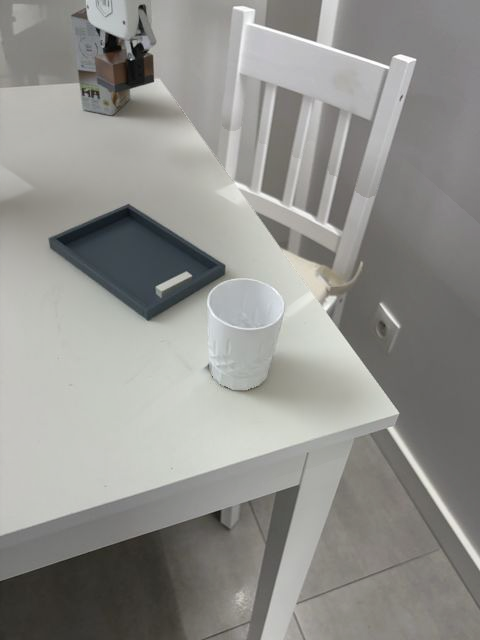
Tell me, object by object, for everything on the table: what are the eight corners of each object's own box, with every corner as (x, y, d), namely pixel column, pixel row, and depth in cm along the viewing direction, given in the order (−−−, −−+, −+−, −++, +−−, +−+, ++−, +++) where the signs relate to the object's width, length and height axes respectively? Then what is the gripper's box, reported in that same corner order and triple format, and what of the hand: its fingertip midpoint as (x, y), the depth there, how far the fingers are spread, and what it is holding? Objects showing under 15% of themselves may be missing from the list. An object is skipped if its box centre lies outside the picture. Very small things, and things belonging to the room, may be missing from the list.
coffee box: (113, 116, 104) (105, 21, 92) (81, 110, 104) (69, 15, 93) (131, 99, 110) (125, 8, 99) (101, 93, 111) (92, 2, 99)
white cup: (266, 402, 59) (278, 336, 52) (196, 387, 60) (198, 320, 53) (278, 351, 65) (290, 286, 58) (213, 338, 65) (217, 271, 58)
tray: (50, 252, 73) (47, 238, 72) (129, 217, 81) (128, 203, 80) (148, 325, 66) (147, 311, 64) (224, 278, 73) (225, 264, 72)
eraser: (97, 83, 87) (94, 55, 84) (136, 73, 92) (134, 46, 89) (115, 93, 85) (112, 64, 82) (154, 82, 90) (153, 54, 87)
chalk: (155, 286, 68) (161, 291, 67) (186, 271, 71) (192, 275, 70) (155, 293, 69) (161, 298, 68) (186, 278, 71) (192, 282, 71)
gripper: (54, -72, 76) (73, 67, 89) (134, -44, 70) (142, 102, 83) (98, -75, 81) (110, 58, 94) (177, -49, 74) (178, 91, 87)
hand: (125, 77), depth 88 cm, fingers closed on eraser, 4 cm apart
